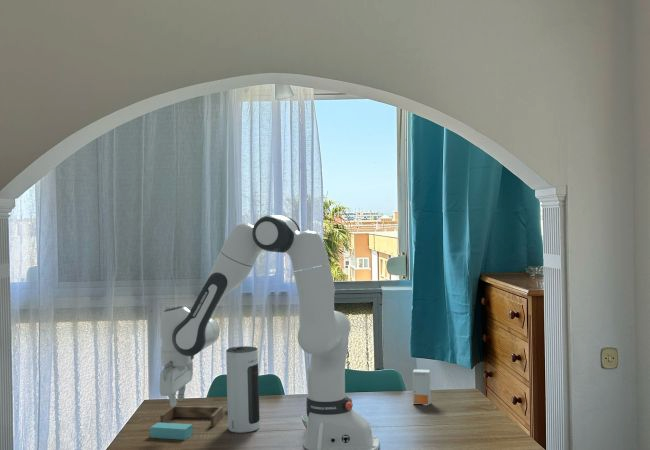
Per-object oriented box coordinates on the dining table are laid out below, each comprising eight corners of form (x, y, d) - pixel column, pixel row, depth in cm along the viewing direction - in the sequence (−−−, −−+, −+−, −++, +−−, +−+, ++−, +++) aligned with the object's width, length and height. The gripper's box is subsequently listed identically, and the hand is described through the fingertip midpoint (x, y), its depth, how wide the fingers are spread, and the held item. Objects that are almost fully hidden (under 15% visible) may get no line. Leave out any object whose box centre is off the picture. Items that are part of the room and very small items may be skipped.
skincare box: (412, 405, 231) (411, 371, 231) (414, 401, 236) (413, 368, 236) (429, 406, 230) (428, 372, 230) (431, 402, 234) (430, 369, 234)
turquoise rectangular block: (192, 435, 204) (192, 424, 204) (185, 440, 199) (185, 429, 199) (158, 433, 206) (158, 422, 206) (150, 438, 202) (150, 427, 202)
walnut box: (223, 416, 221) (222, 406, 221) (213, 427, 211) (213, 416, 210) (172, 416, 224) (172, 405, 224) (160, 426, 213) (160, 415, 213)
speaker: (242, 435, 201) (240, 352, 201) (220, 429, 208) (218, 348, 208) (266, 427, 209) (264, 346, 209) (244, 421, 216) (243, 343, 216)
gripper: (173, 365, 191) (175, 412, 191) (195, 352, 212) (197, 394, 212) (153, 365, 192) (155, 412, 192) (177, 352, 212) (178, 394, 212)
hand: (177, 402), depth 202 cm, fingers open, 5 cm apart
